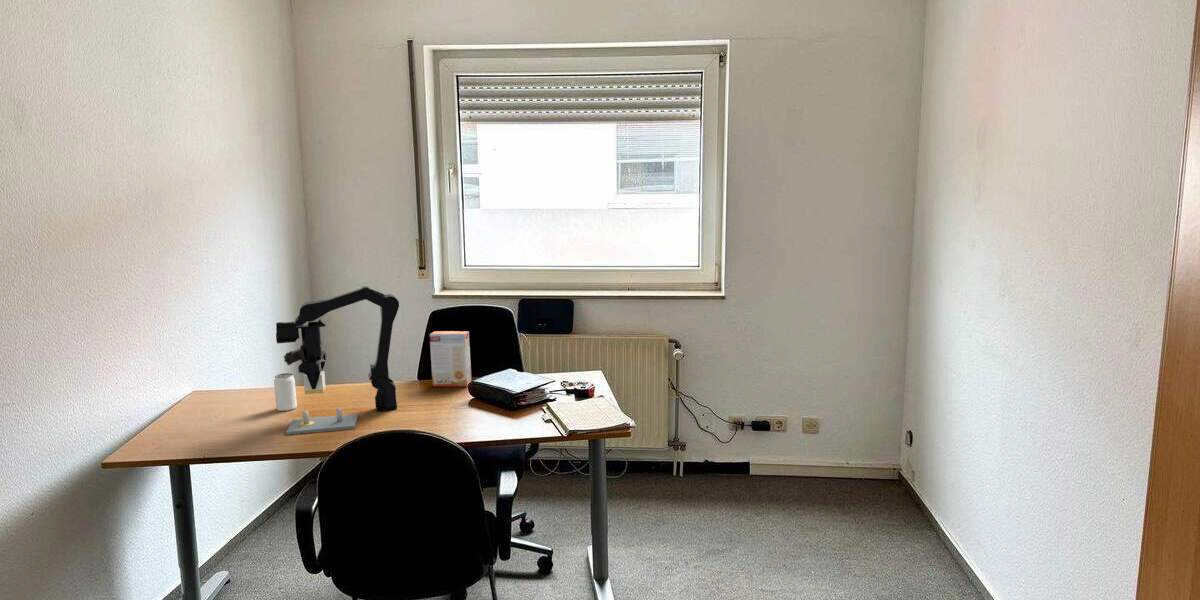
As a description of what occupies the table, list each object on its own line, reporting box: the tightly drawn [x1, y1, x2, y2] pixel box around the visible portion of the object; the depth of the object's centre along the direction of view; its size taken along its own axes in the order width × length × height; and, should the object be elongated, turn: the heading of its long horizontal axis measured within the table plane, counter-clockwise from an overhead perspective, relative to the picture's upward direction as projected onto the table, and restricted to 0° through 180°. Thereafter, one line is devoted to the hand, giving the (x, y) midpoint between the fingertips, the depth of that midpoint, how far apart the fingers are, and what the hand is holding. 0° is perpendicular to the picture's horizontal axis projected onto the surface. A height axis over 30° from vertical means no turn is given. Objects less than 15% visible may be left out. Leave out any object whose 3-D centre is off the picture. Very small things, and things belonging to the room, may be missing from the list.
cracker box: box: [429, 330, 472, 388], centre depth 258 cm, size 14×6×21 cm, turn 83°
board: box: [285, 407, 359, 436], centre depth 215 cm, size 20×12×5 cm, turn 105°
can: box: [273, 372, 298, 412], centre depth 232 cm, size 6×6×12 cm
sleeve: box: [303, 370, 327, 395], centre depth 222 cm, size 6×6×6 cm
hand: (315, 386), depth 222 cm, fingers closed on sleeve, 6 cm apart
